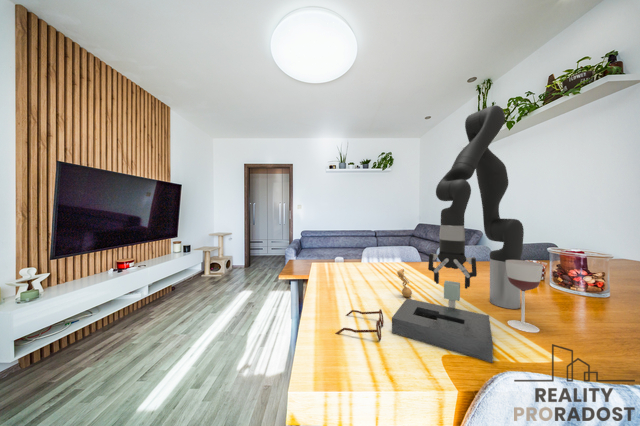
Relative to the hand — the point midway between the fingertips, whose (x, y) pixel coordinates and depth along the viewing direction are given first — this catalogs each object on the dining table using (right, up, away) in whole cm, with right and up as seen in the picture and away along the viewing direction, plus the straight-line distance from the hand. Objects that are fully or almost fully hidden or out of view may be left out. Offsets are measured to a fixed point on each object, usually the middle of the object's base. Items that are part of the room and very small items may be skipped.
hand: (451, 285), depth 78 cm
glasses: (-32, -12, -7) cm, 35 cm away
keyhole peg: (0, -11, 0) cm, 11 cm away
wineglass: (+19, -11, -7) cm, 23 cm away
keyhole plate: (-9, -11, -10) cm, 17 cm away
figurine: (-9, -11, +18) cm, 23 cm away
